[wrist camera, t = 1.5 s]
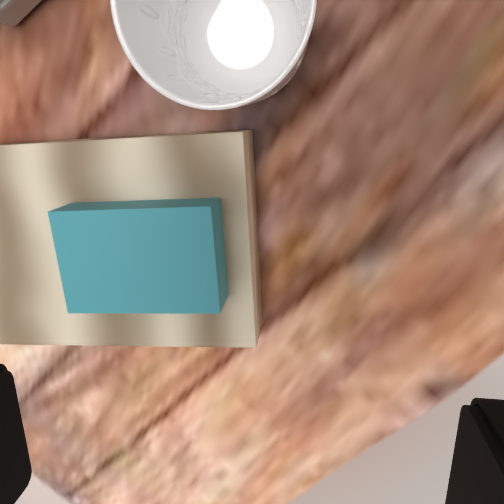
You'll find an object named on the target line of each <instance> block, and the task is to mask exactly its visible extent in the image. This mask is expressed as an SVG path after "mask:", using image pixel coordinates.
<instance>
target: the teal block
mask: <svg viewBox="0 0 504 504" xmlns="http://www.w3.org/2000/svg"><path fill="white" fill-rule="evenodd" d="M48 216H49V221H50V226H51V231H52V236H53V241H54V246H55V251H56V256H57V261H58V266H59V271H60V276H61V281H62V286H63V291H64V296H65V301H66V306H67V311H68V313H140V314H220V313H221V311H222V309H223V306H224V304H225V302H226V300H227V298H228V286H227V273H226V261H225V248H224V236H223V223H222V211H221V198H220V197H219V198H191V199H163V200H135V201H106V202H78V203H70V204H67V205H64V206H62V207H59V208H56V209H53V210H51V211H48Z"/></svg>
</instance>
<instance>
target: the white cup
mask: <svg viewBox="0 0 504 504" xmlns="http://www.w3.org/2000/svg"><path fill="white" fill-rule="evenodd" d="M110 4H111V12H112V17H113V22H114V26H115V30H116V33H117V36H118V38H119V41H120V43H121V46H122V48H123V50H124V52H125V54H126V56H127V57H128V59H129V61H130V62H131V64H132V65H133V67H134V68H135V69H136V71H137V72H138V73H139V74H140V75H141V77H142V78H143V79H144V80H145V81H146V82H147V83H148V84H149V85H151V86H152V87H153V88H154V89H155V90H157V91H158V92H159V93H161V94H162V95H164V96H165V97H167V98H169V99H171V100H173V101H175V102H177V103H179V104H182V105H185V106H188V107H192V108H196V109H203V110H224V109H231V108H236V107H242V106H247V105H251V104H254V103H257V102H259V101H262V100H264V99H266V98H268V97H270V96H272V95H274V94H275V93H277V92H278V91H279V90H280V89H282V88H283V87H284V86H285V85H286V84H287V83H288V82H289V81H290V79H291V78H292V77H293V75H294V74H295V73H296V71H297V69H298V68H299V66H300V64H301V61H302V59H303V57H304V55H305V52H306V49H307V46H308V42H309V38H310V34H311V30H312V26H313V23H314V18H315V13H316V5H317V0H110Z"/></svg>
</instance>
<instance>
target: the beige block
mask: <svg viewBox="0 0 504 504" xmlns="http://www.w3.org/2000/svg"><path fill="white" fill-rule="evenodd" d="M219 197H220V198H221V211H222V223H223V236H224V248H225V261H226V273H227V286H228V298H227V300H226V302H225V304H224V306H223V309H222V311H221V313H220V314H140V313H68V311H67V306H66V301H65V296H64V291H63V286H62V281H61V276H60V271H59V266H58V261H57V256H56V251H55V246H54V241H53V236H52V231H51V226H50V221H49V216H48V211H51V210H53V209H56V208H59V207H62V206H64V205H67V204H70V203H78V202H106V201H135V200H163V199H191V198H219ZM262 320H263V314H262V296H261V278H260V260H259V242H258V225H257V207H256V189H255V171H254V153H253V135H252V129H248V130H230V131H213V132H195V133H178V134H160V135H143V136H125V137H108V138H90V139H73V140H55V141H38V142H21V143H3V144H0V344H25V345H100V346H176V347H252V348H256V346H257V342H258V337H259V333H260V329H261V325H262Z"/></svg>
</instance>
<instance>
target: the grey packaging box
mask: <svg viewBox="0 0 504 504" xmlns="http://www.w3.org/2000/svg"><path fill="white" fill-rule="evenodd" d="M41 1H42V0H0V24H3V25H7V26H12V27H13V26H15V25H17V24H18V23H19V22H20V21H21V20H22V19H23V18H24V17H25V16H26V15H27V14H28V13H29V12H30V11H31V10H32V9H33V8H34V7H35V6H36V5H37V4H39V3H40V2H41Z"/></svg>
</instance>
